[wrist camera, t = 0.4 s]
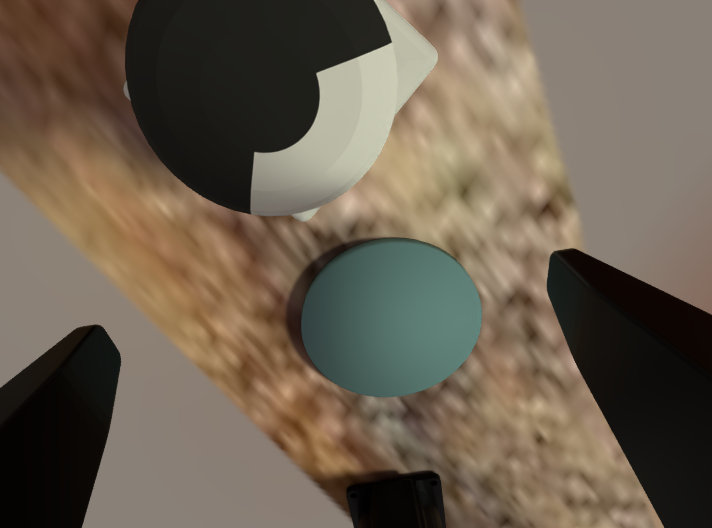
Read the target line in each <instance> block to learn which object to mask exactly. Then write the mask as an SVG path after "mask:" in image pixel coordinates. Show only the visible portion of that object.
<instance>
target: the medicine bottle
mask: <svg viewBox="0 0 712 528" xmlns="http://www.w3.org/2000/svg"><path fill="white" fill-rule="evenodd" d="M437 61H438V53H437V51H436V50H435V48H434V47H433V46H432V45H431V44H430V43H429V42H428V41H427V40H426V39H425V38H424V37H423V36H422V35H421V34H420V33H419V32H418V31H417V30H416V29H414V28H413V27H412V26H411V25H410V24H409V23H408V22H407V21H406V20H405V19H404V18H403V17H402V16H401V15H400V14H399V13H398V12H397V11H396V10H395V9H394V8H393V7H392V6H391V5H390V4H389V3H388V2H386V1H385V0H138V2H137V4H136V6H135V9H134V12H133V15H132V18H131V21H130V25H129V29H128V35H127V41H126V51H125V71H126V82H125V84H124V88H123V90H124V94H125V96H126V97H127V98H128V99H129V100H130V101H131V104H132V108H133V111H134V113H135V116H136V118H137V121H138V124H139V126H140V128H141V130H142V132H143V134H144V136H145V137H146V139H147V141H148V143H149V145H150V146H151V147H152V149H153V150H154V152H155V153H156V155H157V156H158V157H159V159H160V160H161V161H162V162H163V163H164V165H165V166H166V167H167V168H168V169H169V170H170V171H171V172H172V173H173V174H174V175H175V176H176V177H177V178H178V179H179V180H181V181H182V182H183V183H184V184H185V185H186V186H188V187H189V188H191V189H192V190H193V191H195V192H196V193H198V194H199V195H201V196H202V197H204V198H206V199H208V200H210V201H212V202H214V203H216V204H218V205H221V206H223V207H226V208H229V209H232V210H234V211H239V212H243V213H247V214H252V215H263V216H285V215H291V216H293V217H294V218H296V219H297V220H299V221H302V222H303V221H308V220H309V219H310V218H312V217H313V215H314V214H315V213H316V212H317V210H318V209H319V208H320V207H321V206H322V205H324V204H327V203H329V202H331V201H333V200H334V199H336V198H337V197H339V196H340V195H342V194H344V193H345V192H346V191H348V190H349V189H350V188H351V187H352V186H353V185H355V184H356V183H357V182H358V181H359V180H360V179H361V178H362V177H363V176H364V174H365V173H366V172H367V171H368V170H369V169H370V168H371V166H372V165H373V163H374V162H375V160H376V159H377V157H378V156H379V154H380V152H381V150H382V148H383V146H384V144H385V142H386V140H387V138H388V135H389V132H390V129H391V126H392V123H393V119H394V116H395V115H396V113H397V112H398V111H399V110H400V108H401V107H402V106H403V105H404V103H405V102H406V101H407V100H408V99H409V97H410V96H411V95H412V94H413V92H414V91H415V90H416V89H417V87H418V86H419V85H420V84H421V83H422V81H423V80H424V79H425V78H426V76H427V75H428V74H429V73H430V71H431V70H432V69H433V68H434V67H435V65H436V63H437Z"/></svg>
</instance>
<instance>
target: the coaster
mask: <svg viewBox="0 0 712 528" xmlns="http://www.w3.org/2000/svg"><path fill="white" fill-rule="evenodd" d="M481 322H482V309H481V302H480V298H479V295H478V292H477V290H476V288H475V286H474V283H473V282H472V280H471V278H470V277H469V275H468V274H467V272H466V271H465V269H464V268H463V267H462V266H461V264H460V263H459V262H458V261H457V260H456V259H454V258H453V257H452V256H451V255H449V254H448V253H447V252H445V251H443V250H442V249H440V248H438V247H436V246H434V245H431V244H429V243H426V242H422V241H419V240H414V239H407V238H384V239H377V240H373V241H368V242H365V243H362V244H359V245H356V246H354V247H352V248H350V249H348V250H346V251H344V252H342V253H341V254H339V255H338V256H336V257H335V258H333V259H332V260H331V261H330V262H329V263H328V264H327V265H325V266H324V268H323V269H322V270H321V271H320V272H319V273H318V274H317V276H316V277H315V279H314V280H313V282H312V283H311V285H310V287H309V289H308V291H307V294H306V297H305V300H304V303H303V310H302V319H301V333H302V338H303V343H304V346H305V349H306V351H307V353H308V355H309V357H310V359H311V361H312V362H313V363H314V365H315V366H316V368H317V369H318V370H319V371H320V372H321V373H322V374H323V375H324V376H326V377H327V378H328V379H329V380H331V381H332V382H334V383H335V384H337V385H339V386H340V387H342V388H345V389H347V390H349V391H352V392H355V393H358V394H362V395H367V396H375V397H395V396H403V395H408V394H413V393H416V392H419V391H422V390H425V389H427V388H429V387H432V386H434V385H436V384H437V383H439V382H441V381H443V380H444V379H445V378H447V377H448V376H450V375H451V374H452V373H453V372H454V371H455V370H457V369H458V368H459V367H460V366H461V365H462V363H463V362H464V361H465V360H466V359H467V357H468V356H469V354H470V353H471V351H472V349H473V347H474V345H475V343H476V341H477V339H478V336H479V333H480V328H481Z"/></svg>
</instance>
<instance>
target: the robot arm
mask: <svg viewBox="0 0 712 528" xmlns="http://www.w3.org/2000/svg"><path fill="white" fill-rule="evenodd" d="M547 292H548V296H549V298H550V301H551V303H552V306H553V308H554V311H555V313H556V316H557V319H558V321H559V324H560V326H561V329H562V331H563V334H564V336H565V339H566V341H567V344H568V346H569V349H570V351H571V354H572V356H573V358H574V361H575V363H576V365H577V367H578V369H579V371H580V373H581V375H582V376H583V378H584V380H585V382H586V384H587V386H588V387H589V389H590V391H591V393H592V395H593V397H594V399H595V400H596V402H597V404H598V406H599V408H600V410H601V411H602V413H603V415H604V417H605V419H606V421H607V422H608V424H609V426H610V428H611V430H612V432H613V434H614V435H615V437H616V439H617V441H618V443H619V445H620V446H621V448H622V450H623V452H624V454H625V456H626V458H627V459H628V461H629V463H630V465H631V467H632V469H633V470H634V472H635V474H636V476H637V478H638V480H639V482H640V483H641V485H642V487H643V489H644V491H645V493H646V494H647V496H648V498H649V500H650V502H651V504H652V506H653V507H654V509H655V511H656V513H657V515H658V517H659V518H660V520H661V522H662V524H663V526H664V528H712V315H711V314H709V313H707V312H705V311H703V310H701V309H699V308H697V307H695V306H693V305H691V304H689V303H687V302H684V301H682V300H680V299H678V298H676V297H674V296H672V295H670V294H668V293H666V292H664V291H662V290H659V289H658V288H656V287H653V286H651V285H649V284H647V283H645V282H643V281H641V280H638V279H637V278H635V277H633V276H631V275H628V274H626V273H624V272H622V271H620V270H618V269H616V268H614V267H612V266H610V265H608V264H606V263H604V262H602V261H600V260H597V259H595V258H594V257H591V256H589V255H587V254H585V253H583V252H581V251H579V250H577V249H574V248H570V249H564V250H558V251H554V252H553V253H552V254H551V256H550V261H549V269H548V278H547ZM120 366H121V356H120V353H119V351H118V349H117V348H116V346H115V344H114V343H113V341H112V340H111V338H110V337H109V335H108V334H107V332H106V331H105V329H104V328H103V327H102V326H100V325H89V326H83V327H79V328H76V329H75V330H74V331H72V332H71V333H70V334H68V335H67V336H66V337H65V338H63V339H62V340H61V341H60V342H58V343H57V344H56V345H55V346H53V347H52V348H51V349H49V350H48V351H47V352H45V353H44V354H43V355H42V356H40V357H39V358H38V359H37V360H35V361H34V362H33V363H31V364H30V365H29V366H28V367H26V368H25V369H24V370H22V371H21V372H20V373H19V374H18V375H16V376H15V377H14V378H12V379H11V380H10V381H8V382H7V383H6V384H5V385H3V386H2V387H1V388H0V528H82V525H83V522H84V518H85V515H86V511H87V508H88V504H89V501H90V497H91V494H92V490H93V487H94V483H95V480H96V476H97V473H98V469H99V466H100V462H101V459H102V455H103V452H104V448H105V445H106V441H107V437H108V433H109V429H110V424H111V419H112V413H113V407H114V401H115V395H116V389H117V384H118V377H119V372H120ZM346 495H347V501H348V505H349V509H350V513H351V517H352V521H353V525H354V528H446V523H445V514H444V505H443V496H442V487H441V480H440V477H439V475H438V474H436V473H430V474H424V475H417V476H411V477H405V478H398V479H392V480H386V481H379V482H373V483H367V484H360V485H354V486H350V487H348V488H347V490H346Z"/></svg>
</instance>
